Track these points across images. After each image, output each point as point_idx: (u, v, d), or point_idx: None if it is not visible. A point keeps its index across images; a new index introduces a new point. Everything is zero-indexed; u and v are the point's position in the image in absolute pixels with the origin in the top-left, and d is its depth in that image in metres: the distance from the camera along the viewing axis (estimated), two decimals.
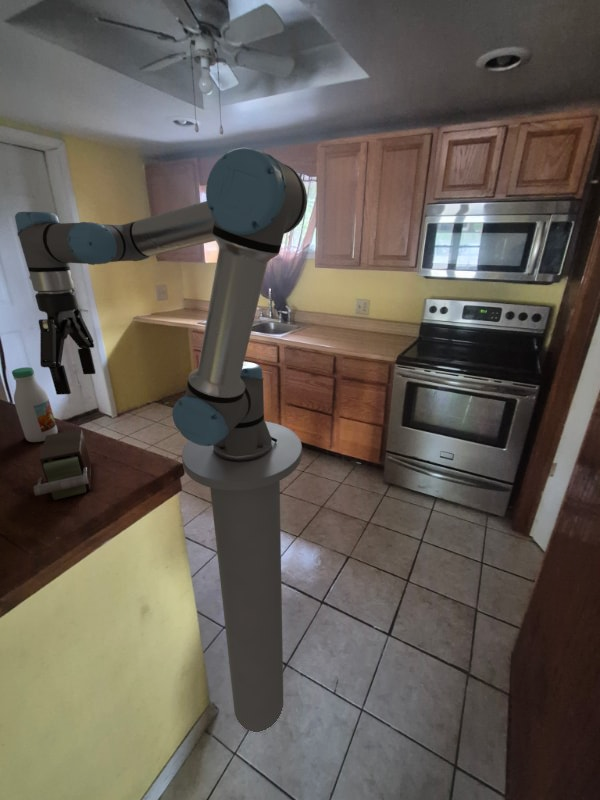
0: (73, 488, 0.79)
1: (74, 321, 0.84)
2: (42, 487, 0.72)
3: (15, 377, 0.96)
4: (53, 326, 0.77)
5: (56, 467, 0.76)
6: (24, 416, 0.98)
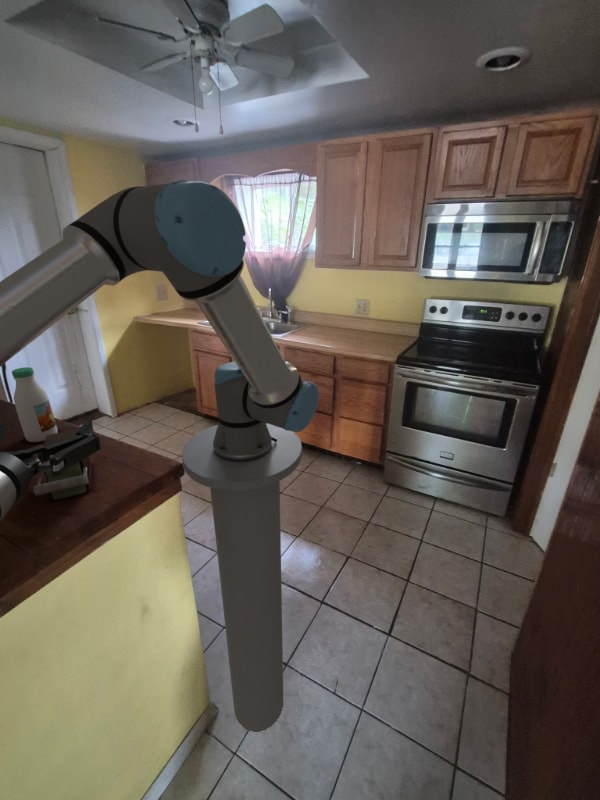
0: (73, 488, 0.79)
1: None
2: (42, 487, 0.72)
3: (15, 377, 0.96)
4: (57, 456, 0.53)
5: None
6: (24, 416, 0.98)
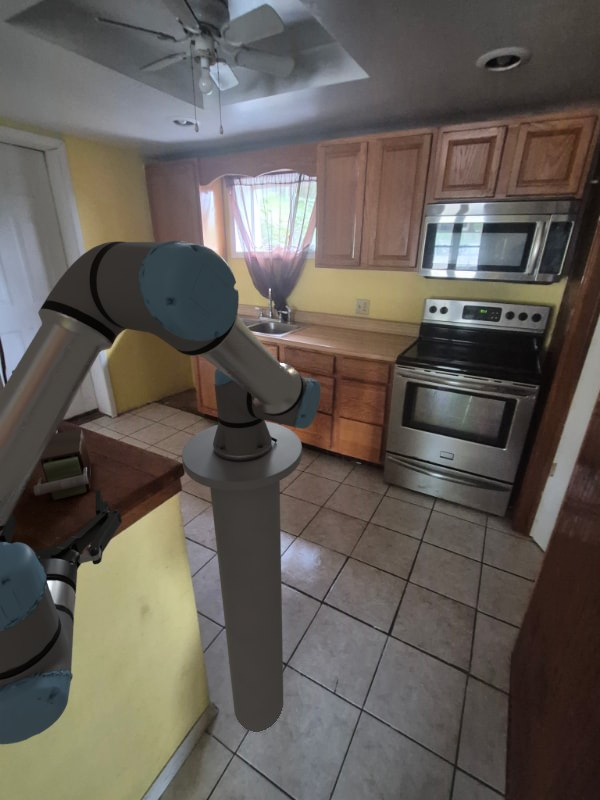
0: (73, 488, 0.79)
1: None
2: (42, 487, 0.72)
3: None
4: (94, 545, 0.57)
5: (56, 467, 0.76)
6: None
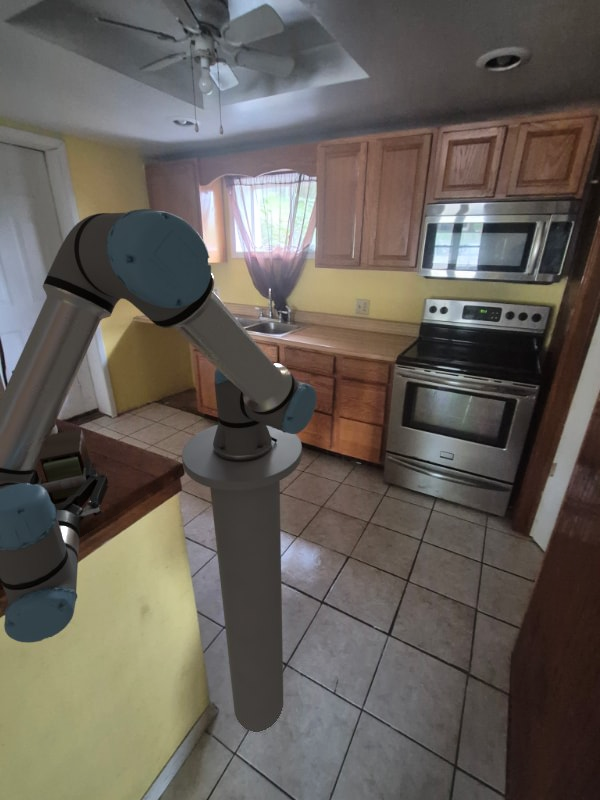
0: (73, 488, 0.79)
1: None
2: None
3: None
4: (94, 500, 0.67)
5: (56, 467, 0.76)
6: None
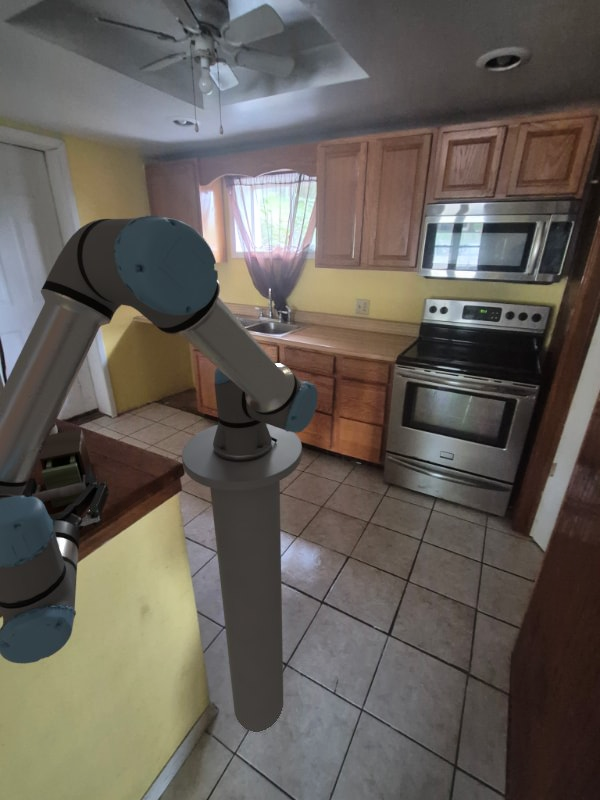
0: (72, 495, 0.77)
1: None
2: (40, 495, 0.69)
3: None
4: (93, 509, 0.64)
5: (55, 474, 0.74)
6: None
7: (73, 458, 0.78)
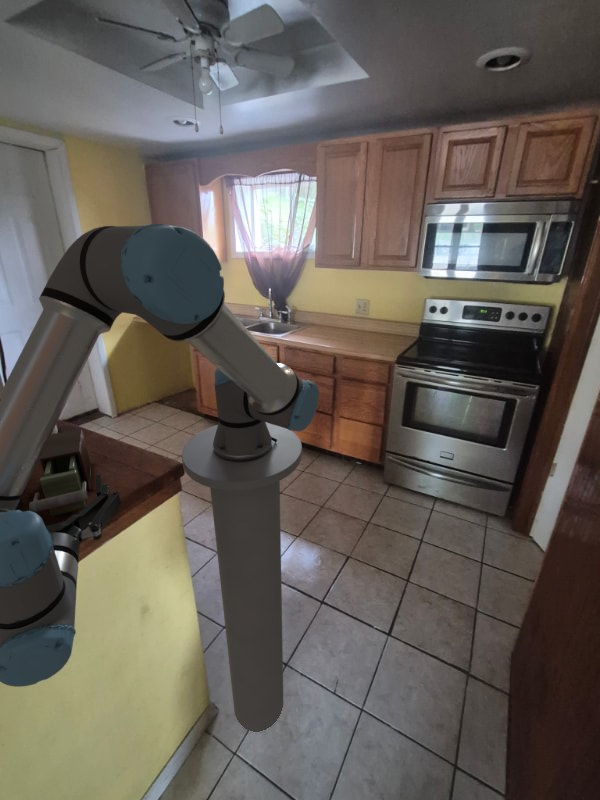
0: (71, 503, 0.75)
1: None
2: (38, 504, 0.67)
3: None
4: (95, 522, 0.62)
5: (53, 481, 0.71)
6: None
7: (72, 465, 0.75)
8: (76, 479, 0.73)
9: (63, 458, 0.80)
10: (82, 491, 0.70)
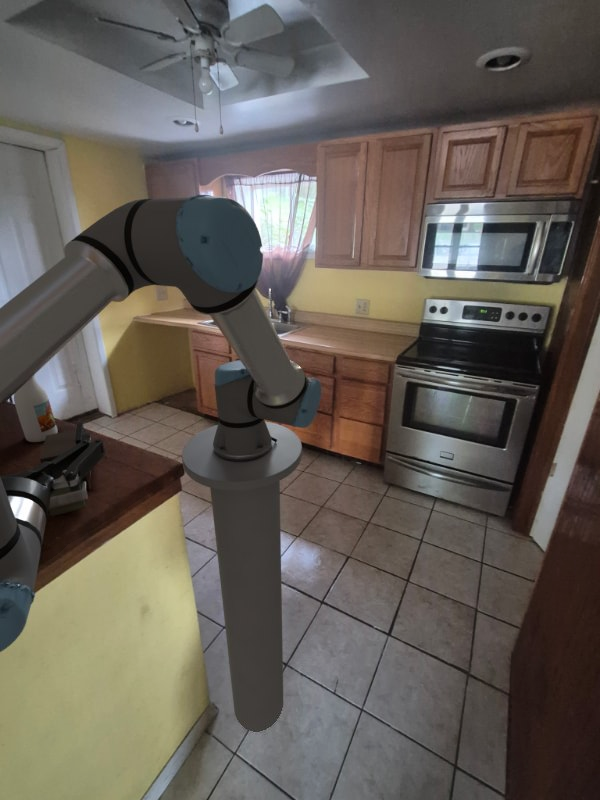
0: (71, 503, 0.75)
1: (0, 478, 0.47)
2: None
3: None
4: (71, 470, 0.50)
5: None
6: (24, 416, 0.98)
7: None
8: None
9: None
10: (82, 491, 0.70)
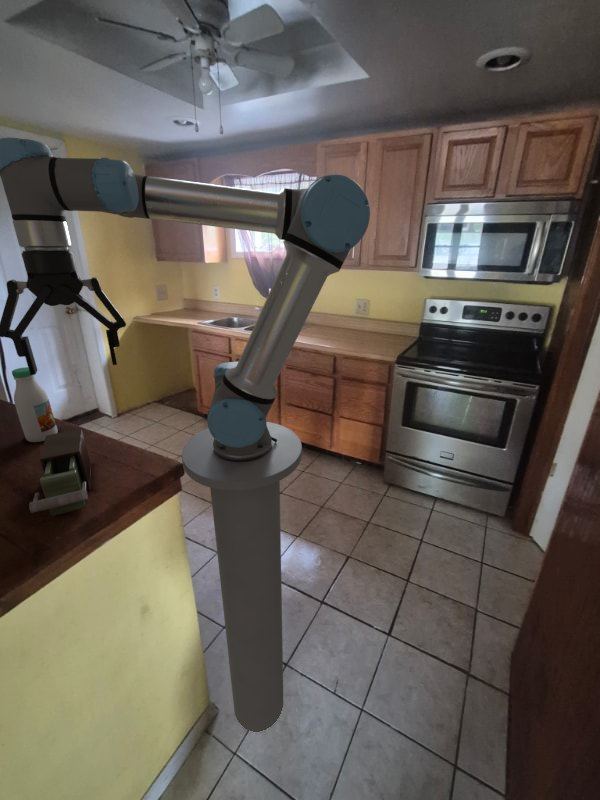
0: (71, 503, 0.75)
1: (65, 291, 0.65)
2: (38, 504, 0.67)
3: (15, 377, 0.96)
4: (11, 289, 0.62)
5: (53, 481, 0.71)
6: (24, 416, 0.98)
7: (72, 465, 0.75)
8: (76, 479, 0.73)
9: (63, 458, 0.80)
10: (82, 491, 0.70)
